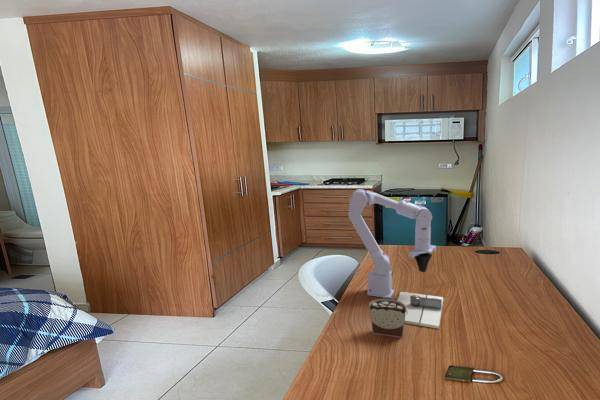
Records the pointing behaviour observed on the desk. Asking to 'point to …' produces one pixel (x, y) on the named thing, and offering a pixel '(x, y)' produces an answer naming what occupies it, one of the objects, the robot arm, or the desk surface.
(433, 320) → the door board
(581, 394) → the desk surface
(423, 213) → the robot arm
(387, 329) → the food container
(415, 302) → the bar
